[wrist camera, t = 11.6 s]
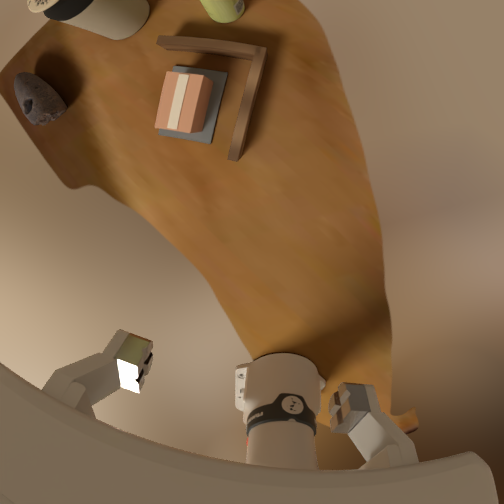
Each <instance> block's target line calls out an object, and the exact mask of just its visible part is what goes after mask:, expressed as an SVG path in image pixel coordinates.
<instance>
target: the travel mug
mask: <svg viewBox="0 0 504 504" xmlns="http://www.w3.org/2000/svg"><path fill="white" fill-rule="evenodd" d="M28 8H29V9H30V11H32V12H41V11H43V12H44V14H45V16H46V17H48V18H50V19H53V20H57V21H61V22H64V23H67V24H70V25H74V26H77V27H80V28H83V29H86V30H89V31H92V32H94V33H97V34H100V35H103V36H105V37H108V38H110V39H114V40H120V39H124V38H127V37H129V36H131V35H133V34H134V33H136V32H137V31H138V30H139V29H140V28H141V27H142V26H143V25H144V23H145V22H146V20H147V18H148V15H149V4H148V2H147V0H28Z"/></svg>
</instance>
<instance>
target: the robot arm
mask: <svg viewBox="0 0 504 504" xmlns="http://www.w3.org/2000/svg"><path fill="white" fill-rule="evenodd" d="M152 348H153V341H151V340H148V339H145V338H143V337H140V336H137V335H134V334H132V333H129V332H126V331H124V330H121V329H119V330H118V331H117V332H116V333H115V335H114V336H113V338H112V339H111V341H110V342H109V344H108V345H107V347H106V348H105V350H104V351H103V353H102V354H101V353H97V354H94V355H92V356H89V357H87V358H85V359H82V360H80V361H77V362H75V363H72V364H70V365H67V366H65V367H62V368H60V369H57V370H55V372H54V373H53V374H52V376H51V377H50V379H49V380H48V381H47V383H46V384H45V386H44V387H43V389H42V390H40V389H39V388H37V387H35V386H34V385H32V384H31V383H29V382H27V381H26V380H25V379H23V378H22V377H20V376H19V375H17V374H16V373H14V372H13V371H11V370H10V369H9V368H7V367H6V366H4V365H3V364H1V363H0V504H498V498H497V492H496V487H495V483H494V479H493V476H492V472H491V470H490V468H489V466H488V465H487V464H486V463H485V462H484V461H483V460H482V459H481V458H480V457H479V456H478V455H476V454H475V453H474V452H466V453H462V454H458V455H454V456H451V457H446V458H442V459H437V460H432V461H427V462H421V463H419V462H418V458H417V454H416V450H415V447H414V443H413V441H412V440H410V438H409V437H407V435H406V434H405V433H404V432H403V431H402V430H401V429H400V428H399V427H398V426H397V425H396V424H395V423H394V422H393V421H392V420H391V419H390V418H389V417H388V416H387V415H386V414H385V413H384V412H381V410H380V406H379V402H378V399H377V395H376V392H375V388H374V386H373V385H367V384H357V383H346V382H342V383H341V384H340V385H339V386H338V391H337V392H335V393H333V395H332V396H331V398H330V401H329V413H330V414H331V415H332V416H333V417H332V418H331V420H330V425H331V432H335V433H348V435H349V436H350V438H351V440H352V441H353V442H354V444H355V445H356V447H357V448H358V450H359V451H360V453H361V454H362V455H363V457H364V458H365V460H366V461H367V463H365V464H364V465H363V466H362V467H360V468H359V469H358V470H319V468H318V464H317V459H316V451H315V443H314V436H315V435H316V427H317V423H316V416H317V415H318V413H320V411H321V390H322V389H323V388H324V387H325V385H326V381H325V379H323V378H322V377H321V376H320V375H319V374H318V371H317V368H316V366H315V365H314V364H313V363H312V362H311V361H310V360H308V359H307V358H305V357H302V356H299V355H296V354H289V353H277V354H270V355H266V356H263V357H261V358H259V359H257V360H255V361H253V362H251V363H246V364H241V365H238V366H237V367H236V374H235V377H236V378H235V406H236V408H238V409H239V410H241V411H243V412H244V416H243V422H244V423H245V424H246V431H247V436H248V438H247V442H246V444H247V446H248V447H247V457H246V463H240V462H234V461H228V460H223V459H218V458H213V457H208V456H204V455H200V454H196V453H191V452H188V451H184V450H181V449H177V448H173V447H169V446H166V445H163V444H160V443H157V442H154V441H151V440H148V439H145V438H142V437H139V436H137V435H134V434H131V433H128V432H126V431H123V430H121V429H118V428H116V427H113V426H111V425H109V424H106V423H104V422H102V421H100V420H97V419H96V417H95V414H94V412H93V409H92V405H94V404H95V403H97V402H99V401H100V400H102V399H104V398H105V397H107V396H108V395H110V394H112V393H113V392H115V391H117V390H118V389H120V388H121V387H123V388H125V389H129V390H131V391H134V392H137V393H139V392H140V390H141V388H142V386H143V384H144V376H145V375H147V374H148V373H149V371H150V368H151V365H152V360H153V354H152V352H151V350H152Z"/></svg>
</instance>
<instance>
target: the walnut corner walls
mask: <svg viewBox="0 0 504 504" xmlns="http://www.w3.org/2000/svg"><path fill="white" fill-rule="evenodd" d="M156 44H158V45H159V46H161V47H163V48H165V49H166V50H174V51H187V52H197V53H206V54H214V55H222V56H228V57H235V58H240V59H246V60H251V61H252V64H251V67H250V71H249V75H248V78H247V82H246V86H245V90H244V94H243V97H242V101H241V105H240V109H239V113H238V117H237V121H236V125H235V129H234V134H233V138H232V142H231V146H230V150H229V155H228V160H232V161H236V162H237V161H238V160H239V159H240V158H241V156H242V152H243V148H244V144H245V139H246V135H247V131H248V127H249V123H250V120H251V116H252V112H253V108H254V104H255V100H256V96H257V93H258V89H259V85H260V81H261V78H262V74H263V70H264V67H265V63H266V59H267V56H268V55H267V48H265V47H260V46H255V45H250V44H244V43H238V42H231V41H224V40H216V39H208V38H197V37H184V36H158V39H157V43H156Z"/></svg>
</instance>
